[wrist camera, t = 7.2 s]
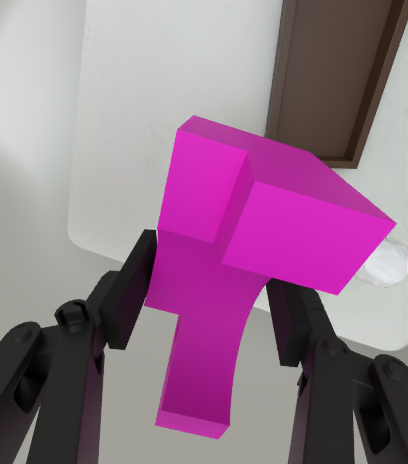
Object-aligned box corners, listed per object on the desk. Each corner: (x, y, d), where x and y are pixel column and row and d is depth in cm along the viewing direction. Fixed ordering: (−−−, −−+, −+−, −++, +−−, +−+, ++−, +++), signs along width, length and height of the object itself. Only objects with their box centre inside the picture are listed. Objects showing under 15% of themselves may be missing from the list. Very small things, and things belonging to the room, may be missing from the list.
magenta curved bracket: (193, 115, 12) (153, 149, 6) (310, 152, 12) (397, 223, 6) (148, 309, 20) (111, 415, 13) (221, 327, 20) (218, 439, 14)
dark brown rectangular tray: (292, -68, 20) (300, -87, 18) (421, -72, 19) (446, -92, 17) (261, 159, 30) (264, 166, 27) (347, 162, 29) (357, 168, 27)
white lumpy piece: (384, 304, 28) (299, 255, 27) (356, 262, 36) (289, 222, 35) (434, 268, 25) (341, 212, 24) (393, 230, 33) (320, 186, 31)
